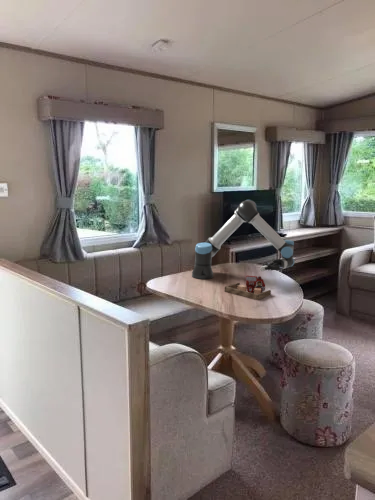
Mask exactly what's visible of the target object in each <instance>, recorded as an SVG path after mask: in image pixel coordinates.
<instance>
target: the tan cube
mask: <svg viewBox="0 0 375 500" xmlns="http://www.w3.org/2000/svg"><path fill="white" fill-rule="evenodd" d="M253 293H254V294H260V293H261V288H254V291H253Z"/></svg>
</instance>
